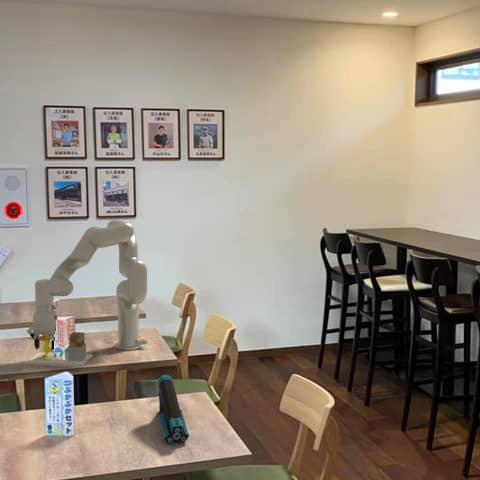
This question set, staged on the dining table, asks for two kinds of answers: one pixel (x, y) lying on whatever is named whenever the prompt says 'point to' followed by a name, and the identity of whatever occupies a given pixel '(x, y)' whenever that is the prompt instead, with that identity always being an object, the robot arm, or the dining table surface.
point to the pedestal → (77, 353)
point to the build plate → (56, 360)
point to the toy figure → (47, 346)
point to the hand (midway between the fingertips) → (45, 348)
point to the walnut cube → (76, 339)
